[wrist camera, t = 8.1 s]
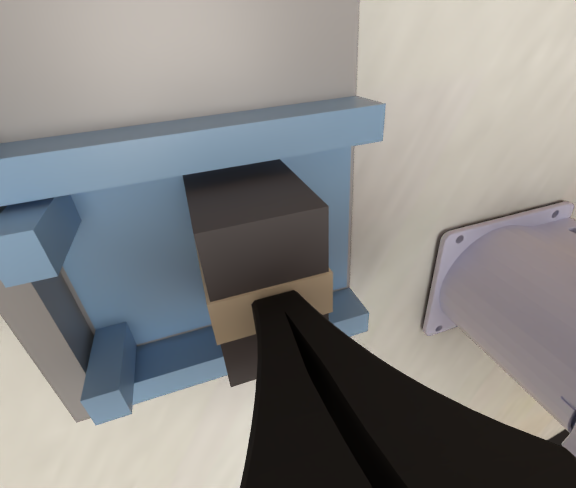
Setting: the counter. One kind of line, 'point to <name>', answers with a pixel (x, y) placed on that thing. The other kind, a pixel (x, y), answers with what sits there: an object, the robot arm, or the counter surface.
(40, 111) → the board
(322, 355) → the robot arm
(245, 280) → the dark striped block
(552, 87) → the counter surface
